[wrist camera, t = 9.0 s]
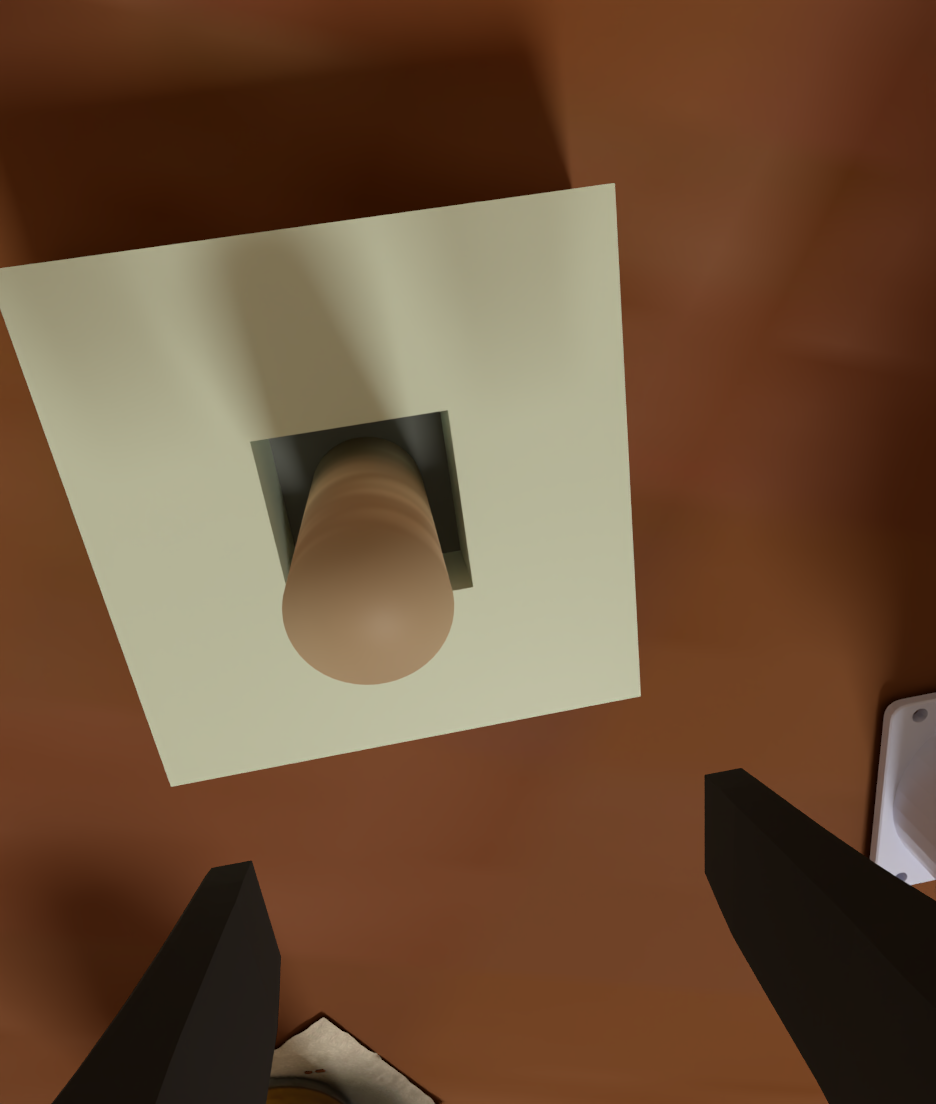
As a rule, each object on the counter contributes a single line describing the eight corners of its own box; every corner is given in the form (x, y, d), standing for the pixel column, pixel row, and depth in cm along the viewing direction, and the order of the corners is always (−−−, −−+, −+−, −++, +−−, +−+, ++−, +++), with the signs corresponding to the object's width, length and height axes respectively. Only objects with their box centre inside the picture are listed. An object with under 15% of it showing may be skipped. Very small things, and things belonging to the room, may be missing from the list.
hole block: (574, 196, 17) (614, 183, 14) (605, 641, 22) (640, 696, 19) (50, 269, 16) (-14, 269, 14) (196, 717, 21) (171, 786, 18)
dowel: (411, 426, 18) (437, 514, 12) (433, 531, 19) (467, 665, 13) (299, 448, 18) (261, 550, 11) (326, 553, 19) (306, 700, 12)
